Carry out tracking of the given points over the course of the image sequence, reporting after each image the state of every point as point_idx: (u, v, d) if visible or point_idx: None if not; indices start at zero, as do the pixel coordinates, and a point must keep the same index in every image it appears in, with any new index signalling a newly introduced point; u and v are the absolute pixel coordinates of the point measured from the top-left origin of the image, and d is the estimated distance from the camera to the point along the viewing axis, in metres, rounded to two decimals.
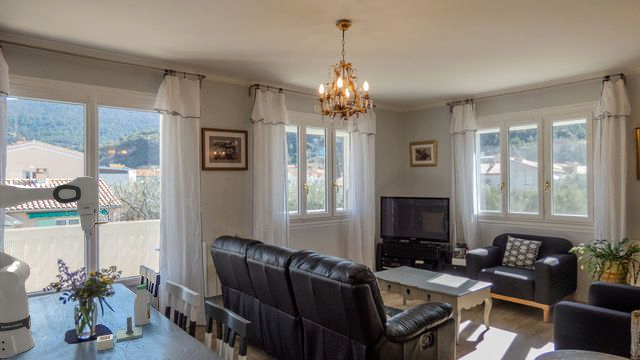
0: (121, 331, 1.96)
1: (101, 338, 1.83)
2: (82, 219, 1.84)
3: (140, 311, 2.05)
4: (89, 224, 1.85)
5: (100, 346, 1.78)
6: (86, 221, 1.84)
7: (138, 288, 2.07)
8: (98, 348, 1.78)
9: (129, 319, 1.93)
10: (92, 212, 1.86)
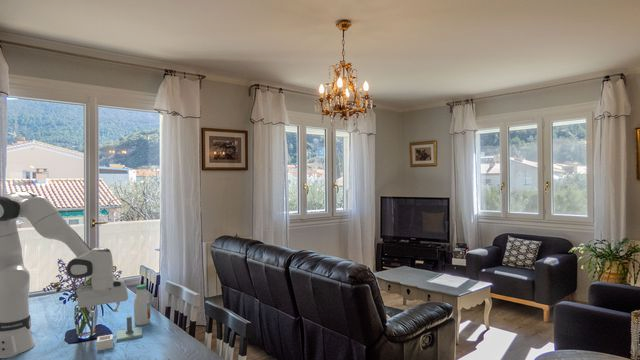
0: (121, 331, 1.96)
1: (101, 338, 1.83)
2: (126, 289, 1.84)
3: (140, 311, 2.05)
4: (127, 293, 1.86)
5: (100, 346, 1.78)
6: None
7: (138, 288, 2.07)
8: (98, 348, 1.78)
9: (129, 319, 1.93)
10: None
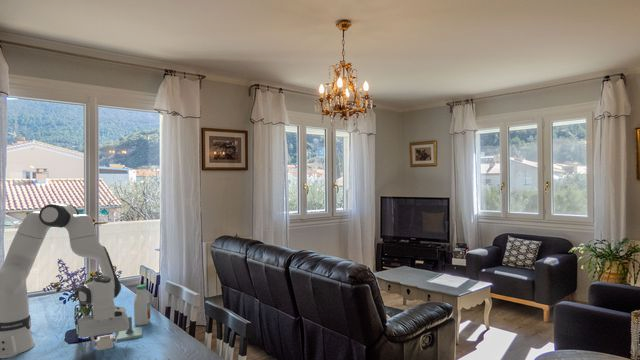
0: (121, 331, 1.96)
1: (101, 338, 1.83)
2: (127, 318, 1.84)
3: (140, 311, 2.05)
4: (128, 322, 1.87)
5: (100, 346, 1.78)
6: None
7: (138, 288, 2.07)
8: (98, 348, 1.78)
9: (129, 319, 1.93)
10: None
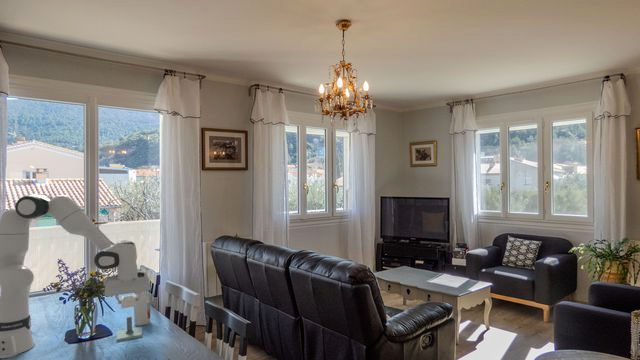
0: (121, 331, 1.96)
1: (124, 298, 1.95)
2: None
3: (140, 311, 2.05)
4: None
5: (124, 304, 1.90)
6: (149, 281, 1.98)
7: None
8: (122, 306, 1.90)
9: (129, 319, 1.93)
10: None
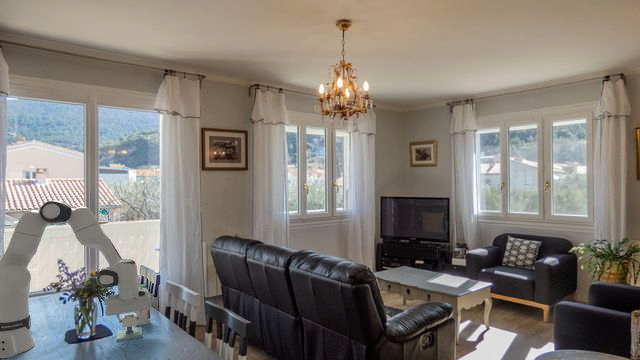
0: (121, 331, 1.96)
1: (125, 316, 1.95)
2: None
3: None
4: None
5: (125, 323, 1.90)
6: (150, 299, 1.98)
7: None
8: (123, 325, 1.90)
9: None
10: None
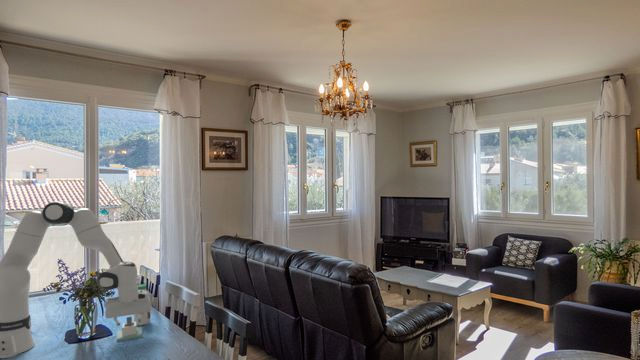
0: (121, 331, 1.96)
1: (125, 325, 1.95)
2: (149, 301, 1.96)
3: None
4: None
5: (125, 332, 1.90)
6: None
7: (138, 288, 2.07)
8: (123, 334, 1.90)
9: (129, 319, 1.93)
10: None
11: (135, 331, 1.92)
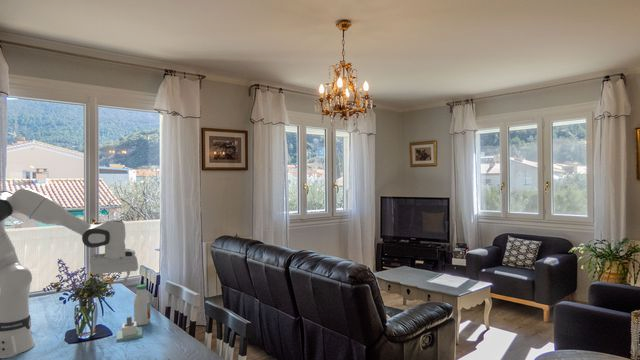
0: (121, 331, 1.96)
1: (125, 325, 1.95)
2: (136, 259, 1.94)
3: (140, 311, 2.05)
4: None
5: (125, 332, 1.90)
6: None
7: (138, 288, 2.07)
8: (123, 334, 1.90)
9: (129, 319, 1.93)
10: None
11: (135, 331, 1.92)
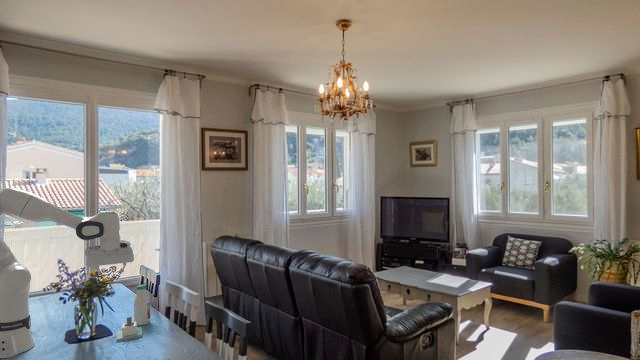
0: (121, 331, 1.96)
1: (125, 325, 1.95)
2: (132, 251, 1.93)
3: (140, 311, 2.05)
4: None
5: (125, 332, 1.90)
6: None
7: (138, 288, 2.07)
8: (123, 334, 1.90)
9: (129, 319, 1.93)
10: None
11: (135, 331, 1.92)
